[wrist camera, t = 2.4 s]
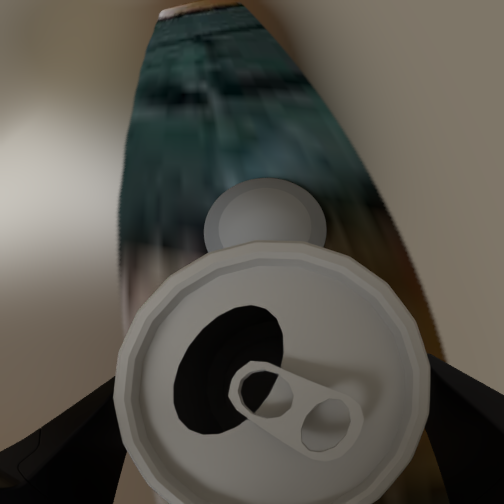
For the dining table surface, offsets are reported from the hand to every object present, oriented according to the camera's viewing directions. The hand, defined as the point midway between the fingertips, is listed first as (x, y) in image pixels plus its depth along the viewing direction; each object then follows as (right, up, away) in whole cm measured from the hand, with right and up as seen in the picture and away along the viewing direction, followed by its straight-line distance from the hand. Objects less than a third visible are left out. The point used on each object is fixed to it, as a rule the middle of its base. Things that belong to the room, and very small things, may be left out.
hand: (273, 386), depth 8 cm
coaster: (0, +5, +12) cm, 13 cm away
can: (+1, -4, +8) cm, 8 cm away
